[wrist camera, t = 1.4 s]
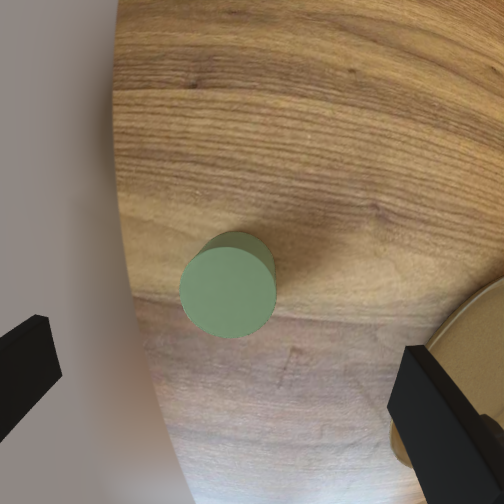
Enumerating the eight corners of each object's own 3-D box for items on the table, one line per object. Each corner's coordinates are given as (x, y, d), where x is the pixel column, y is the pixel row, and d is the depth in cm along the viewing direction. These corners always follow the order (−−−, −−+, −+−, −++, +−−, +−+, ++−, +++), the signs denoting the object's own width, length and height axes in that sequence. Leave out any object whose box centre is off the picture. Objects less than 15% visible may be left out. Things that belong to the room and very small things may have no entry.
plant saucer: (559, 355, 23) (573, 366, 20) (425, 474, 28) (433, 491, 25) (525, 206, 20) (548, 210, 17) (332, 381, 24) (339, 405, 21)
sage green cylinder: (182, 266, 23) (160, 289, 18) (237, 214, 22) (228, 225, 17) (234, 320, 24) (226, 354, 19) (291, 273, 22) (297, 299, 18)
